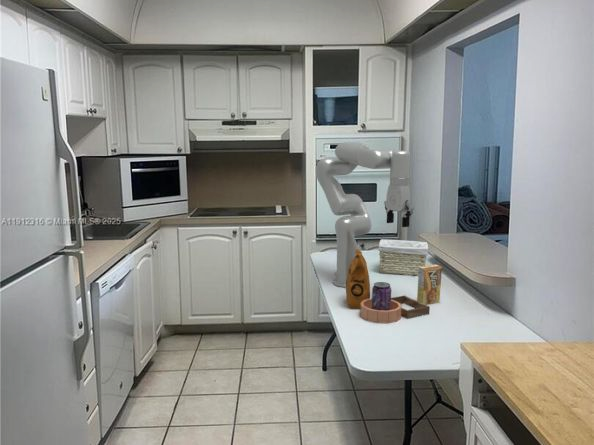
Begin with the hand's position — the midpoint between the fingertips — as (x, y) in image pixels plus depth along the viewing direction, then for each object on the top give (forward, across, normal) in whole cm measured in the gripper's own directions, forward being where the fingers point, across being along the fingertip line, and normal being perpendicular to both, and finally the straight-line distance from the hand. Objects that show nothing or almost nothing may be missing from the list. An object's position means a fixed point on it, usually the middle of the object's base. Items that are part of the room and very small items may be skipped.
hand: (397, 224), depth 200 cm
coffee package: (+32, -4, -16) cm, 36 cm away
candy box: (+32, +7, +12) cm, 35 cm away
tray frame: (+32, +10, -2) cm, 34 cm away
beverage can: (+32, +11, -15) cm, 37 cm away
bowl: (+32, +10, -15) cm, 37 cm away
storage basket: (+33, -35, +33) cm, 58 cm away
